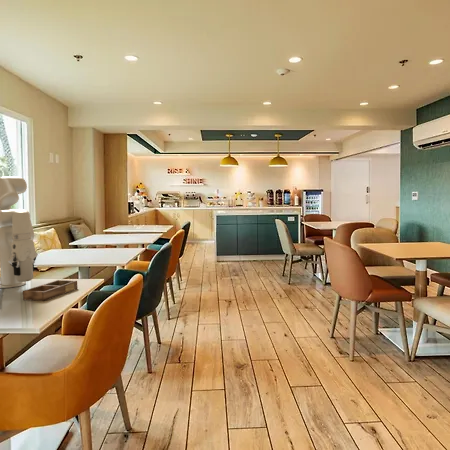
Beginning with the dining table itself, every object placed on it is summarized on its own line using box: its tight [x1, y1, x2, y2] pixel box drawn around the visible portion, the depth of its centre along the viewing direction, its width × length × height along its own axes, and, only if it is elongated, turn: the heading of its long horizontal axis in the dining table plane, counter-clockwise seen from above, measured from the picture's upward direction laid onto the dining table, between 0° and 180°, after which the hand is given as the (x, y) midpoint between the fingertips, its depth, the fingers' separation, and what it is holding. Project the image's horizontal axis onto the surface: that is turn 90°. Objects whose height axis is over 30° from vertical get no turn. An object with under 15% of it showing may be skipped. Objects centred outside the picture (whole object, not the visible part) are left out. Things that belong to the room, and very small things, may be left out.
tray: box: [22, 279, 78, 302], centre depth 170 cm, size 12×22×4 cm, turn 164°
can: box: [15, 256, 34, 283], centre depth 172 cm, size 8×8×12 cm
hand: (24, 273), depth 172 cm, fingers closed on can, 7 cm apart
